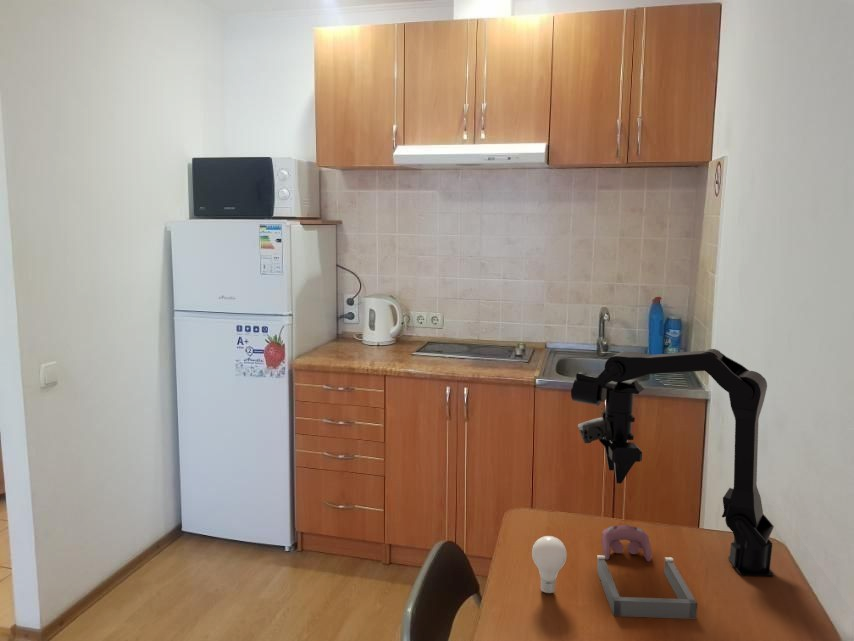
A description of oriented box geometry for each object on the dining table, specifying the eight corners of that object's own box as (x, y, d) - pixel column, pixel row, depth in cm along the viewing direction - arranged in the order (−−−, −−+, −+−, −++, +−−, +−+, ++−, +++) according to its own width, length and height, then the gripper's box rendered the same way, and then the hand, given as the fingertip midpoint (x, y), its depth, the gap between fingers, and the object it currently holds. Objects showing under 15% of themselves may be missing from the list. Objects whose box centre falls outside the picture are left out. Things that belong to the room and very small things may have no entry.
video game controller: (648, 561, 140) (646, 526, 142) (653, 562, 135) (652, 526, 137) (600, 558, 141) (599, 523, 142) (603, 559, 136) (603, 523, 138)
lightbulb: (543, 578, 130) (545, 526, 128) (571, 592, 125) (574, 538, 123) (523, 591, 125) (525, 537, 124) (551, 606, 121) (554, 550, 119)
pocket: (670, 573, 132) (671, 557, 132) (696, 619, 118) (698, 601, 117) (596, 570, 133) (597, 555, 132) (613, 615, 118) (614, 598, 118)
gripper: (574, 396, 156) (571, 459, 158) (590, 422, 137) (586, 493, 140) (622, 397, 155) (618, 460, 158) (645, 423, 137) (640, 495, 140)
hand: (614, 476), depth 149 cm, fingers open, 7 cm apart
